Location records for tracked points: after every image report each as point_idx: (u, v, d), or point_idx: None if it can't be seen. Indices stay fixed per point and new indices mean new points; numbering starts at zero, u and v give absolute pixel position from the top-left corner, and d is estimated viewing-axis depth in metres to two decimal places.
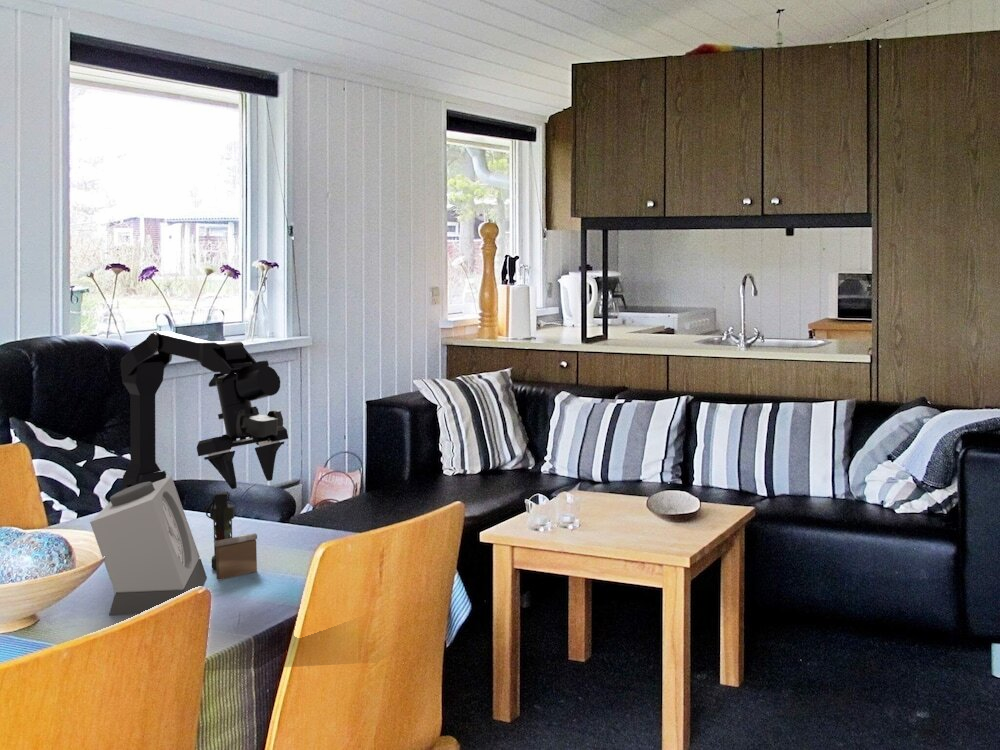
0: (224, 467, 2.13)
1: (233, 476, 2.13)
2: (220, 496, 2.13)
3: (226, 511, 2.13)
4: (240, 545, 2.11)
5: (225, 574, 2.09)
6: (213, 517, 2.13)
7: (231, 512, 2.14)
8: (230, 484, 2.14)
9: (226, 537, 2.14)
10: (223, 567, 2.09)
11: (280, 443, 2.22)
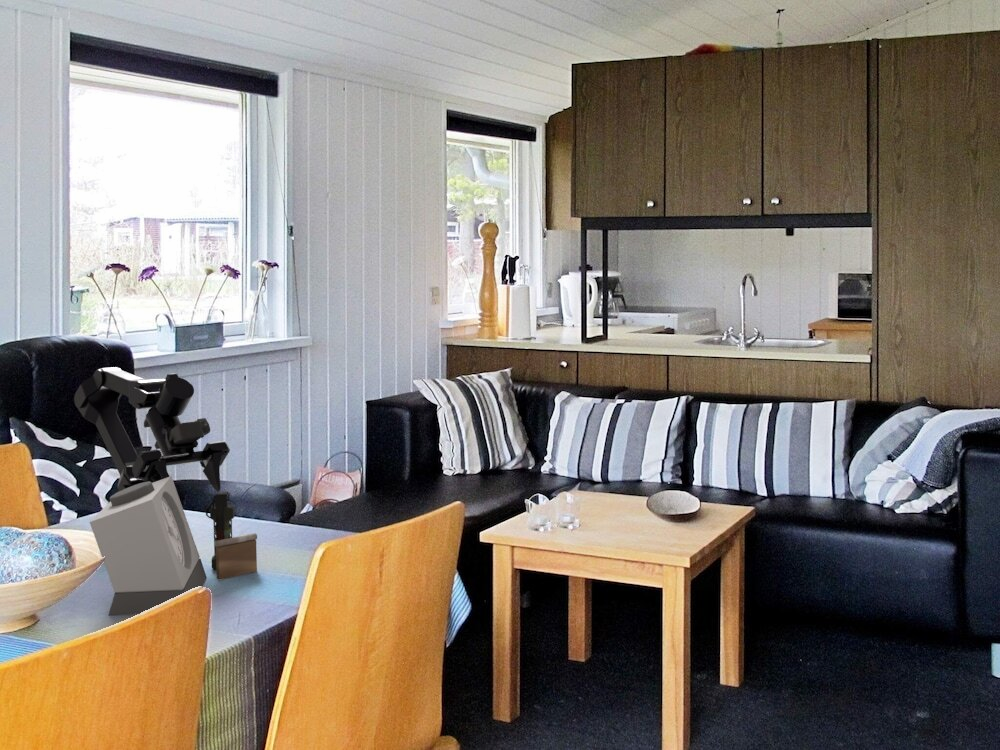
0: None
1: None
2: (220, 496, 2.13)
3: (226, 511, 2.13)
4: (240, 545, 2.11)
5: (225, 574, 2.09)
6: (213, 517, 2.13)
7: (231, 512, 2.14)
8: None
9: (226, 537, 2.14)
10: (223, 567, 2.09)
11: (220, 453, 2.25)
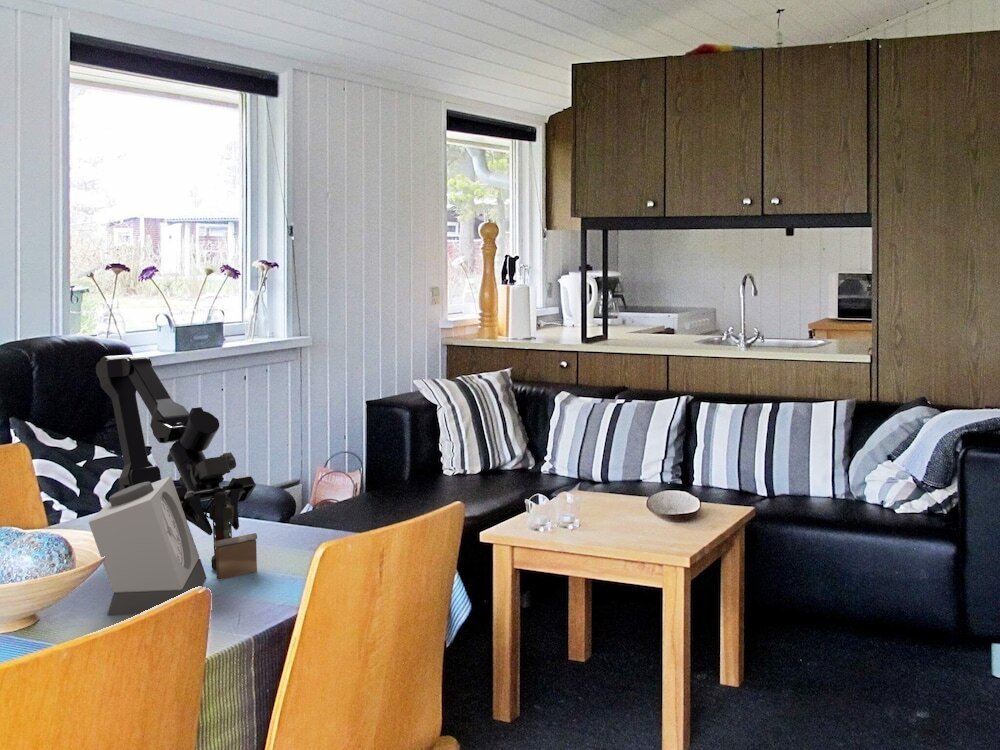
0: (196, 516, 2.13)
1: (206, 521, 2.12)
2: (219, 496, 2.13)
3: (225, 511, 2.13)
4: (240, 545, 2.11)
5: (225, 574, 2.09)
6: (212, 517, 2.13)
7: (230, 512, 2.14)
8: (206, 530, 2.12)
9: (226, 537, 2.14)
10: (223, 567, 2.09)
11: (238, 490, 2.18)
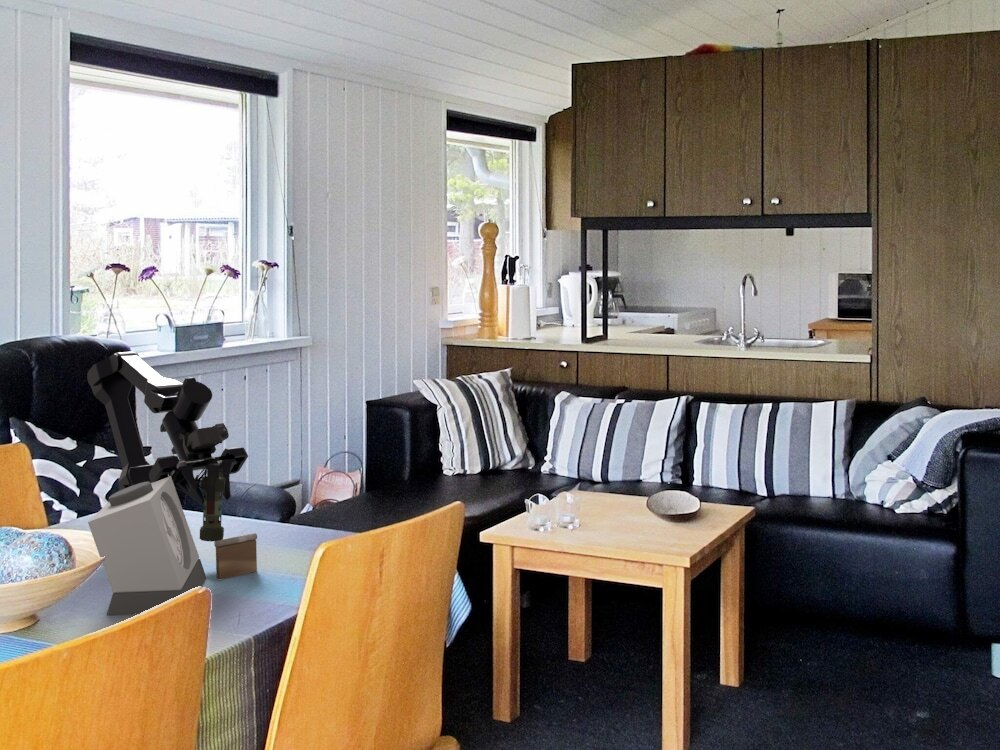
0: (188, 486, 2.14)
1: (198, 490, 2.13)
2: (212, 467, 2.15)
3: (217, 482, 2.15)
4: (240, 545, 2.11)
5: (225, 574, 2.09)
6: (204, 487, 2.15)
7: (222, 483, 2.15)
8: (198, 500, 2.13)
9: (216, 508, 2.15)
10: (223, 567, 2.09)
11: (230, 460, 2.19)
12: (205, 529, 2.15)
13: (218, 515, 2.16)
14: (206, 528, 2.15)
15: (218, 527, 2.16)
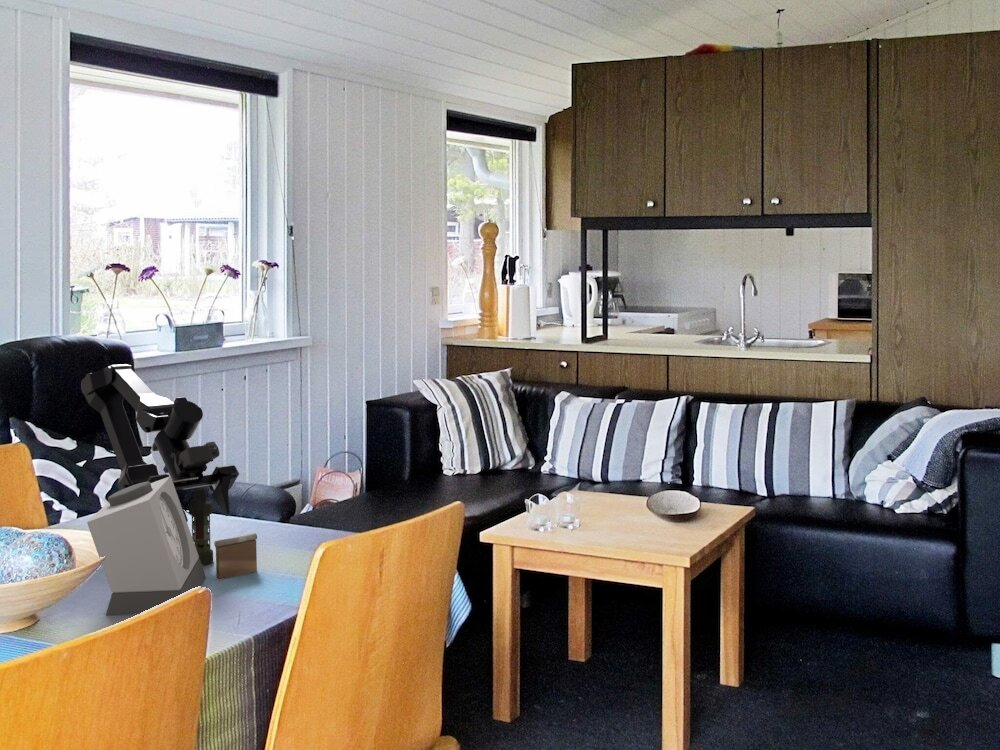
0: None
1: None
2: (199, 492, 2.17)
3: (205, 507, 2.17)
4: (240, 545, 2.11)
5: (225, 574, 2.09)
6: (192, 513, 2.17)
7: (210, 508, 2.18)
8: None
9: (205, 532, 2.18)
10: (223, 567, 2.09)
11: (228, 477, 2.23)
12: None
13: (207, 539, 2.18)
14: None
15: (208, 550, 2.19)
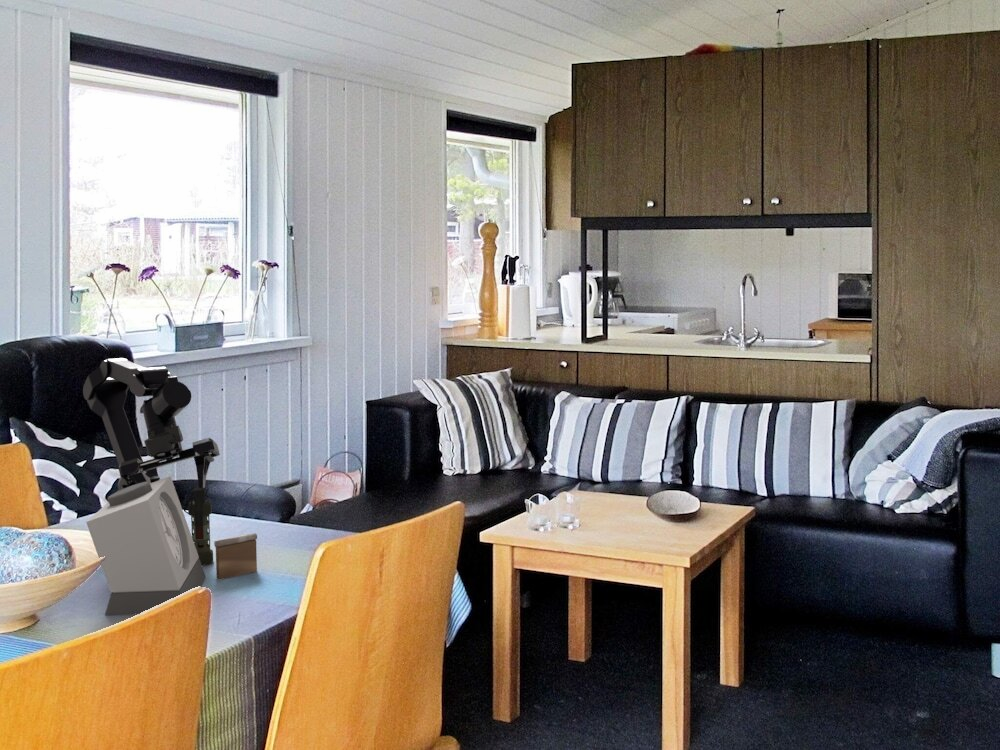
0: None
1: None
2: (198, 492, 2.17)
3: (204, 507, 2.17)
4: (240, 545, 2.11)
5: (225, 574, 2.09)
6: (191, 513, 2.17)
7: (209, 508, 2.18)
8: None
9: (204, 532, 2.18)
10: (223, 567, 2.09)
11: (201, 456, 2.22)
12: None
13: (207, 539, 2.18)
14: None
15: (208, 551, 2.19)
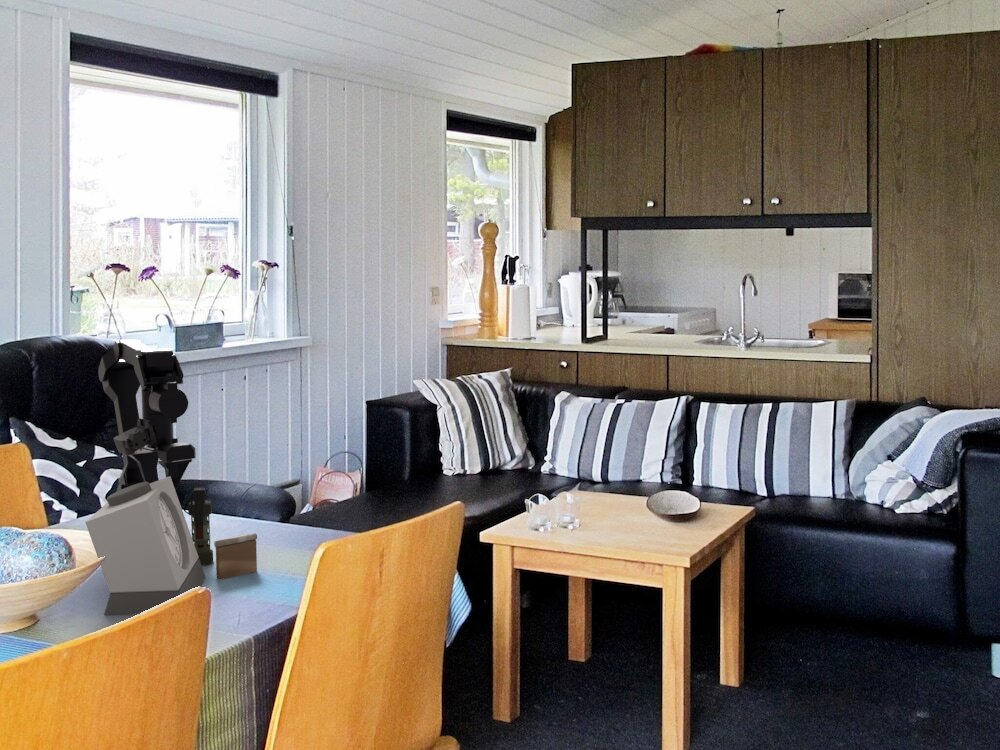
0: None
1: (143, 476, 2.27)
2: (198, 492, 2.17)
3: (204, 507, 2.17)
4: (240, 545, 2.11)
5: (225, 574, 2.09)
6: (191, 513, 2.17)
7: (209, 508, 2.18)
8: None
9: (204, 532, 2.18)
10: (223, 567, 2.09)
11: (162, 463, 2.17)
12: None
13: (207, 539, 2.18)
14: None
15: (208, 551, 2.19)
